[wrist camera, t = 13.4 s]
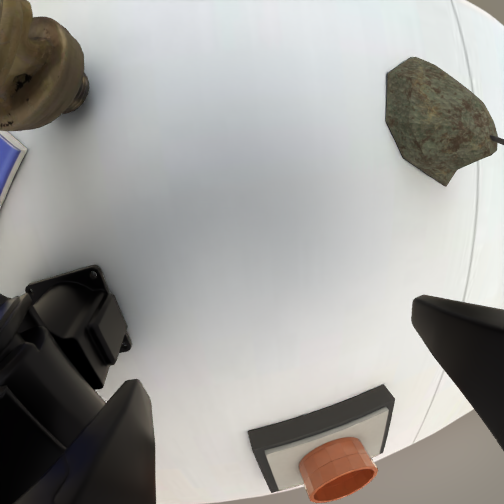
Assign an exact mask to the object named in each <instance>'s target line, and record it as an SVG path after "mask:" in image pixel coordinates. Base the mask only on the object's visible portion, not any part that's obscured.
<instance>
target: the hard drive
mask: <svg viewBox="0 0 504 504" xmlns="http://www.w3.org/2000/svg"><path fill="white" fill-rule="evenodd" d="M26 152H27V148H26V147H25V146H24V145H22V144H21V143H20V142H19V141H18V140H17V139H15V138H14V137H13V136H12V135H11V134H9V133H8V132H7V131H0V209H1V206H2V204H3V201H4V199H5V196H6V194H7V191H8V189H9V187H10V185H11V182H12V180H13V178H14V176H15V174H16V172H17V169H18V167H19V165H20V163H21V161H22V159H23V157H24V156H25V154H26Z"/></svg>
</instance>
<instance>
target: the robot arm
mask: <svg viewBox="0 0 504 504" xmlns="http://www.w3.org/2000/svg"><path fill="white" fill-rule="evenodd" d="M91 271H94V272H96V274H97V276H93V275H92V272H91ZM30 289H32V290H33V292H34V293H32V292H31V290H30ZM25 291H26V294H24V295H22V296H20V297H18V296H16V297H14V298H12V299H11V298H7V297H6V296H4V295H2V294H0V504H156V487H155V438H154V428H153V417H152V405H151V400H150V397H149V396H148V394H147V392H146V390H145V389H144V387H143V385H142V383H141V382H140V381H139V380H138V379H133V380H127V381H125V382H124V383H123V384H122V385H121V387H120V388H119V389H118V390H117V391H116V392H115V393H114V395H113V396H112V397H111V398H110V399H109V400H108V402H107V403H106V402H105V401H104V400H103V399H102V398H101V397H100V396H99V395H98V393H97V392H96V391H95V390H96V389H102V388H103V386H104V383H105V380H106V376H107V373H108V370H109V367H110V365H114V364H115V363H116V361H117V357H118V354H119V353H122V352H127V351H129V350H130V349H131V345H132V343H131V340H130V338H129V336H128V334H127V331H126V329H127V325H126V322H125V320H124V318H123V315H122V313H121V311H120V308H119V306H118V304H117V301H116V299H115V296H114V295H113V294H111V293H110V292H109V289H108V286H107V284H106V281H105V279H104V276H103V273H102V271H101V269H100V268H99V267H98V266H96V265H92V266H88V267H85V268H81V269H78V270H74V271H71V272H67V273H64V274H60V275H57V276H54V277H50V278H47V279H43V280H40V281H37V282H33V283H30V284H29V285H28V286H27V287H26V289H25ZM411 321H412V324H413V326H414V328H415V329H416V331H417V332H418V334H419V335H420V337H421V338H422V340H423V341H424V343H425V344H426V346H427V347H428V349H429V350H430V352H431V353H432V355H433V356H434V358H435V359H436V360H437V362H438V363H439V364H440V365H441V367H442V368H443V369H444V370H445V372H446V373H447V374H448V375H449V377H450V378H451V379H452V380H453V382H454V383H455V384H456V386H457V387H458V388H459V389H460V391H461V392H462V393H463V395H464V396H465V397H466V399H467V400H468V401H469V403H470V404H471V405H472V407H473V408H474V409H475V411H476V412H477V413H478V415H479V416H480V417H481V419H482V420H483V422H484V423H485V424H486V426H487V427H488V429H489V430H490V432H491V433H492V434H493V436H494V437H495V439H497V442H498V443H499V445H500V446H501V448H502V449H503V451H504V310H503V309H497V308H492V307H486V306H481V305H476V304H470V303H465V302H460V301H454V300H449V299H444V298H439V297H433V296H428V295H421V296H419V297H417V298H415V299H414V300H413V303H412V316H411ZM122 343H125V344H127V346H124V345H123V344H122Z"/></svg>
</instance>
